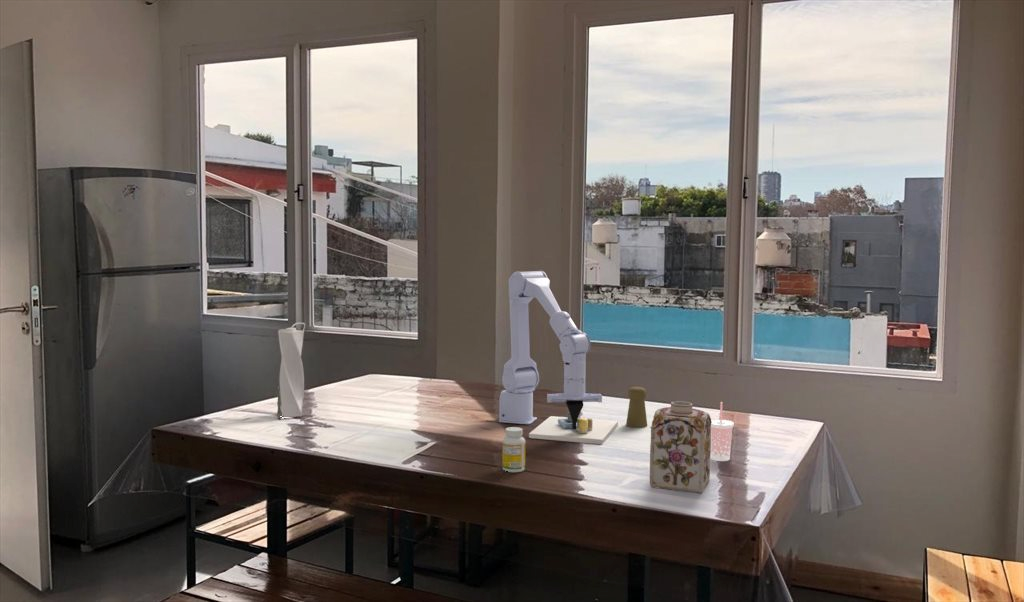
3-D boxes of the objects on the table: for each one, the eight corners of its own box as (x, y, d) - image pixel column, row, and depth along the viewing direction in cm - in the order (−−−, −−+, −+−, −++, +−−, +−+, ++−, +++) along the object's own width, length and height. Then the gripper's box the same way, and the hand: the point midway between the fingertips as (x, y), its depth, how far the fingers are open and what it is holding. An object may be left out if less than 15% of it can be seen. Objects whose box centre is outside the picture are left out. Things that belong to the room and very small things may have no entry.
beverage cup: (737, 460, 200) (739, 403, 199) (715, 462, 198) (716, 405, 197) (724, 454, 206) (725, 398, 205) (702, 456, 204) (703, 400, 203)
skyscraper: (305, 412, 251) (304, 320, 248) (308, 418, 243) (306, 323, 241) (277, 414, 248) (275, 321, 246) (278, 420, 240) (276, 324, 238)
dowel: (585, 434, 225) (585, 419, 224) (586, 433, 226) (586, 418, 226) (591, 435, 224) (591, 420, 224) (592, 433, 226) (593, 418, 225)
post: (566, 431, 229) (566, 413, 228) (568, 428, 231) (568, 411, 231) (576, 431, 228) (576, 414, 228) (578, 429, 231) (578, 411, 230)
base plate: (528, 438, 221) (528, 433, 221) (550, 420, 242) (550, 416, 242) (602, 444, 215) (602, 439, 215) (618, 425, 236) (618, 421, 236)
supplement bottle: (515, 474, 188) (515, 433, 187) (497, 469, 192) (497, 429, 191) (530, 469, 192) (530, 428, 192) (512, 464, 196) (512, 425, 195)
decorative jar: (648, 487, 179) (649, 405, 177) (658, 473, 190) (660, 395, 188) (704, 494, 175) (706, 410, 173) (711, 478, 186) (713, 399, 184)
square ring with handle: (557, 423, 232) (557, 411, 231) (579, 421, 233) (579, 409, 233) (572, 433, 220) (573, 421, 219) (595, 432, 221) (595, 419, 221)
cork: (646, 428, 233) (647, 389, 232) (625, 427, 234) (626, 388, 233) (647, 423, 239) (648, 385, 238) (626, 422, 240) (627, 384, 239)
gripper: (548, 381, 216) (548, 432, 218) (603, 380, 217) (603, 431, 218) (546, 376, 223) (546, 425, 225) (600, 376, 224) (599, 425, 225)
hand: (574, 428), depth 222 cm, fingers closed, pressing on square ring with handle
